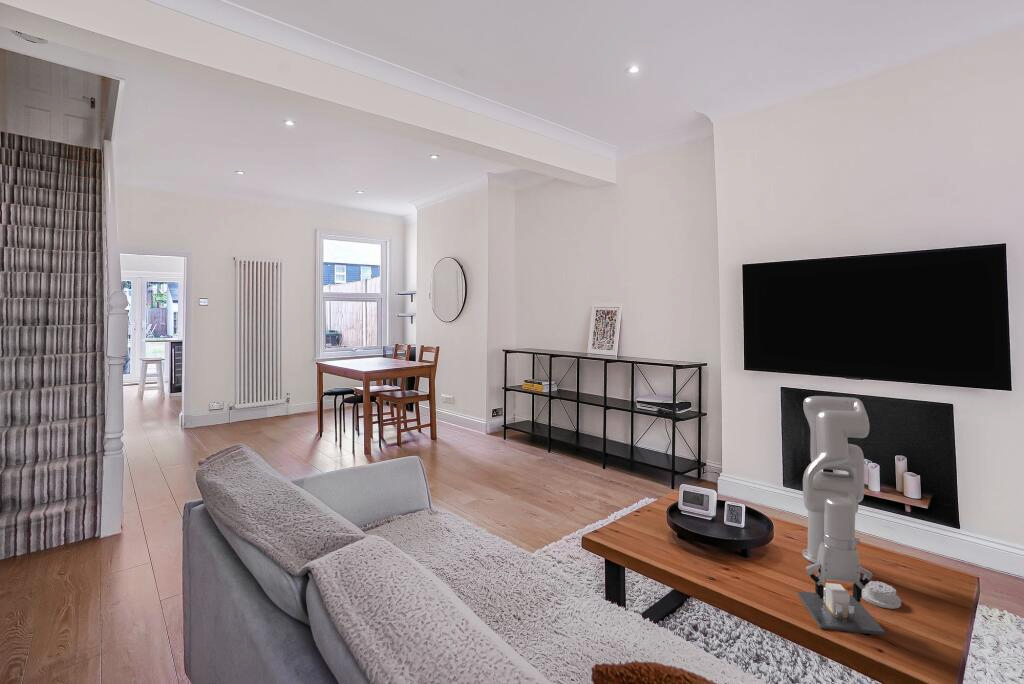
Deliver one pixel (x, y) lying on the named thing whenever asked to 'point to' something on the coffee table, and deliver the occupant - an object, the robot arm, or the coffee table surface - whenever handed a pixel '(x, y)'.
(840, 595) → the jaw block
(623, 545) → the coffee table surface
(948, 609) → the coffee table surface
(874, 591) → the mechanical component
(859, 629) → the base plate
